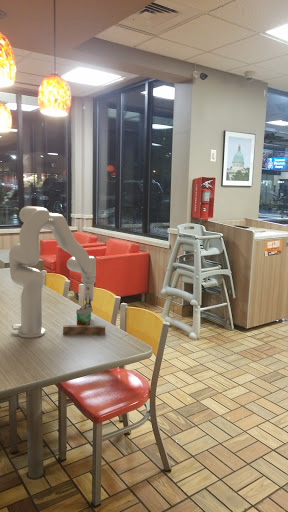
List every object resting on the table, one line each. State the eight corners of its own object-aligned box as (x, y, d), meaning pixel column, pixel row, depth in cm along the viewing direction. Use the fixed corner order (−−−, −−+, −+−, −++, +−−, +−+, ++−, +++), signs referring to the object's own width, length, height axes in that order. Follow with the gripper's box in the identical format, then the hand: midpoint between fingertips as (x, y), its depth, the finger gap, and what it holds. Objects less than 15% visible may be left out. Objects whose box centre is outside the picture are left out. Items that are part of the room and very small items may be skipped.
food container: (87, 330, 194) (88, 311, 192) (75, 329, 195) (76, 309, 194) (95, 322, 206) (96, 304, 204) (84, 321, 207) (84, 303, 205)
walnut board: (63, 334, 187) (63, 326, 186) (63, 332, 189) (63, 325, 188) (105, 335, 188) (105, 327, 188) (105, 333, 191) (105, 325, 190)
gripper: (95, 282, 203) (94, 316, 206) (96, 276, 218) (95, 307, 221) (80, 282, 202) (80, 316, 205) (82, 275, 217) (82, 307, 220)
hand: (88, 311), depth 213 cm, fingers closed
